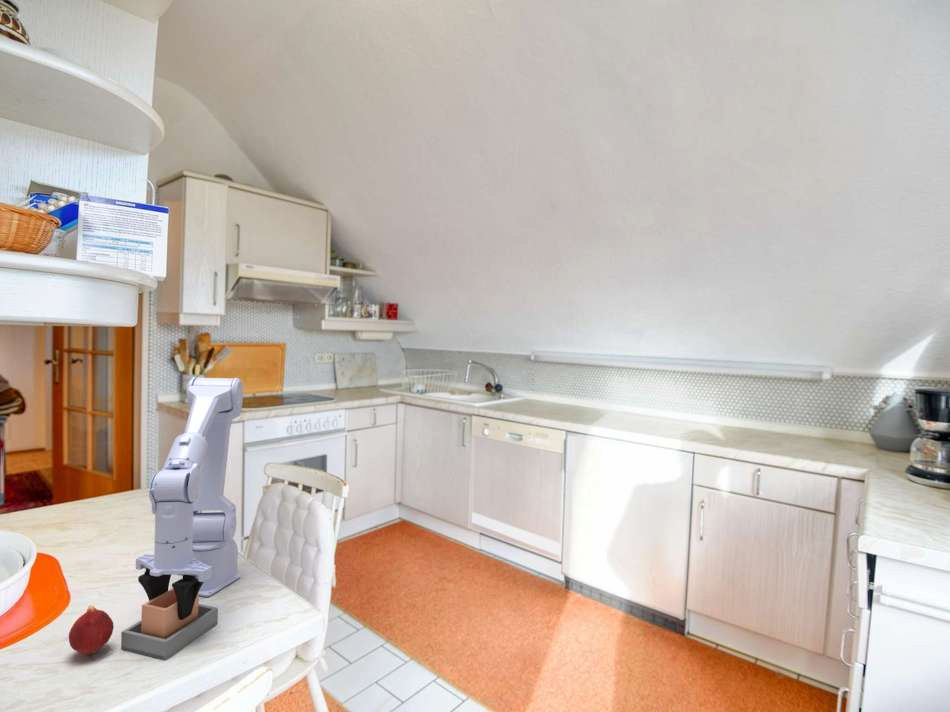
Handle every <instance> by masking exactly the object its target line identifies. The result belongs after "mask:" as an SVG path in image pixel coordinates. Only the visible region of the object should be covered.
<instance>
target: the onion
mask: <svg viewBox="0 0 950 712" xmlns="http://www.w3.org/2000/svg"><path fill="white" fill-rule="evenodd" d="M114 627H115V626H114V621H113V619H112V617H110V615H109V614H108V613H107V612H106V611H104V610H101V609H97V608H96V607H95V606H94V605H89V606H88V608H87V609H86V612H85V613H83V614H82V615H80V616H79V617H78V618H77V619H76V620H75V622H74V623H73V624H72V626H71V628H70V630H69V633H68V637H67V639H68V642H69V646H70V648H72V649H73V650H74V651H76V652H77V653H79V654H83V655H85V656H90V655H93V654H94V653H96V652H97V651H99V650H100V649H101V648H102V647H104V646H105V645H106V644H107V643H108V642H109V641H110V639H111V638H112V634H113V631H114Z"/></svg>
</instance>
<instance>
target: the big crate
mask: <svg viewBox="0 0 950 712" xmlns="http://www.w3.org/2000/svg"><path fill="white" fill-rule="evenodd" d="M218 612H219V608H218V607H215V606H210V605H205V604H201V603H199V604H198V619H196V620H195V621H193V622H192V623H190V624H189V625H187V626H186V627H184V628H183V629H181V630H179V631H178V632H176V633H175V634H173V635H172V636H170V637H169V638H167V639H162V638H158V637H153V636H149V635H145V634H141V620H139V621H138V622H136V623H134V624H133V625H132V624H131V626H129V627H127V628H125V629H124V630H121V638H120V639H121V640H120V641H121V642H120V644H121V645H120V649H121V650H122V651H126V652H131V653H134V654H139V655H141V656H142V655H143V656H146V657H150V658H155V659H158V660H163V661H167V660H168V659H170V658H171V657H173V656H174V655H175V654H177V653H178V652H179V651H181V650H182V649H184V648H185V647H187V646H188V645H189V644H191V643H192V642H194V641H196V640H197V639H198V638H200V637H201V636H203V635H205V633H207V632H208V631H210V630H211V629H213V627H214V628H215V626H216V625H218V621H219V619H218V616H219V615H218V614H219V613H218Z"/></svg>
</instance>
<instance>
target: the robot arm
mask: <svg viewBox="0 0 950 712" xmlns="http://www.w3.org/2000/svg"><path fill="white" fill-rule="evenodd" d="M243 386H244V385H243V382H242V380H241V379H240V378H239V377H234V378H232V377H231V378H227V377H226V378H225V377H223V378H222V377H221V378H220V377H199V376H194V377H192V378H191V379H190V380H189V381H188V383H187V386H186V400H187V403H188V406H189V407H188V408H189V409H190V411H189V414H188V417H187V422H186V425H185V428H184V432H183V433H182V434H179V435H177V436H176V437H175V439H174V440H173V443H172V445H171V447H170V450H169V452H168V455H167V457H166V460H165V462H164V464H163V466H162V469H160V471H157V472H155V473H153V476H152V477H151V480H150V484H149V489H148V497H149V501H150V504H151V513H152V514H153V515H155V516H154V550H153V551H154V553H153V554H146V553H145V554H143V555H141V556H138V557H136V558H135V570H143V569H145V571H144V573H142V574H141V575H139V576H138V578H137V579H138V580H137V581H138V583H139V584H140V585H141V586H142V588H143V590H144V591H145V593H146V596H147V598H148V602H149V601H150V600H152V599H154V598H156V597H158V596H160V595H162V594H163V593H165V592H167V591H169V586H170V582H171V577H172V575H173V576H174V575H175V576H176V575H177V576H182V578H181V579H180V578H179V579H178V580H177V581H174V582H172V584H171V587H172V589H174V591H175V594H176V598H177V610H178V618H179V620H183V619H185V618H187V617H188V616H190V615H191V613H192V609H193V606H194V603H195V600H196V597H197V594H198V592H199V597H200V596H201V597H206V598H207V597H210V596H212V595H214V594H215V593H217V592H218V591H221V590H222V589H223V588H225V587H227V586H228V585H230V584H232V583H233V582H235V581H236V580H238V579H240V578H241V574H239V573H238V558H239V557H238V556H239V554H238V553H239V549H238V545H237V541H236V540H235V539H234V537H235V535H236V529H237V506H236V505H235V503H234V502H232V501H231V499H228V498H227V497H226V496H224V495H225V494H224V492H225V482H226V475H227V474H226V473H227V461H228V456H229V455H228V454H229V445H230V444H229V443H230V437H231V436H230V435H231V427H232V422H233V420H234V419H236V418H238V417H240V416H241V412H242V409H243V400H244V399H243V397H244V388H243ZM199 511H201V512H199ZM202 511H203V512H202ZM204 511H214V512H204ZM215 511H220V512H215Z"/></svg>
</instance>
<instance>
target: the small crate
mask: <svg viewBox="0 0 950 712" xmlns="http://www.w3.org/2000/svg"><path fill="white" fill-rule="evenodd" d="M199 600H200V595H199V592H198V594H197V597H196V600H195V603H194V606H193V609H192V613H191V615H190V616H188V617H187V618H185V619H183V620H179V618H178V610H177V598H176V594H175V591H174V589H173V588H171V589H168V591H167V592H165V593H163V594H162V595H160V596H158V597H156V598H154V599H152V600H150V601H149V600H148V601H147V602H145V603H143V604H141V620H140V621H141V634H145V635H149V636H153V637H158V638H162V639H167V638H169V637H170V636H172V635H173V634H175V633H176V632H178V631H179V630H181V629H183V628H184V627H186V626H187V625H189V624H190V623H192V622H193V621H195V620H196V619H198V604H200V603H199V602H200V601H199Z"/></svg>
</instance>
